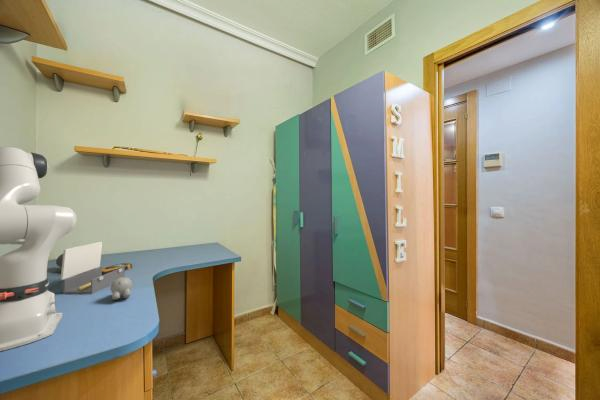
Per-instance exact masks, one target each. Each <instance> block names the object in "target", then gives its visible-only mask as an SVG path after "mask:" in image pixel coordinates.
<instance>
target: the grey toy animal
mask: <svg viewBox="0 0 600 400" xmlns="http://www.w3.org/2000/svg"><path fill="white" fill-rule="evenodd" d="M132 288H133V281H132V280H131V278H129V277H126V276H124V277H121V278H118V279H116V280H115V281H114V282H113V283H112V284H111V285H110V292H111V293H112V296H111V300H112V301H118V300H120V299H127V298H129V297H130V296H131V295H132V293H131V289H132Z"/></svg>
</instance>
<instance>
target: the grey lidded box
mask: <svg viewBox="0 0 600 400" xmlns="http://www.w3.org/2000/svg"><path fill="white" fill-rule="evenodd" d="M102 268H103V267H102V266H100V267H98V268H96V269H94V270H91V271H86V272H83V273H80V274H77V275H74V276H72V277H69V278H66V279H63V280H62V286H63V289H62V290H63V291H62V293H63V295H86V294H88V295H93V294H94V293H98V292H99V291H101V290H103V289H105V288H107V287H111V284H112V283H113V282H114V281H115V280H116V279H118V278H121V277H126V276H125V271H126V270H125V267H122V268H120V269H117V270H115V271H112V272H110V273H107V274H105V275H102Z"/></svg>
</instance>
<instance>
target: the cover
mask: <svg viewBox="0 0 600 400" xmlns="http://www.w3.org/2000/svg"><path fill="white" fill-rule="evenodd" d="M102 250H103V241H98V242H92V243H88V244H84V245H83V244H82V245H78V246H73V247H69V248H66V249H63V253H62V254H63V261H62V267H61V270H60V271H61V272H60V281H61V280H62V281H63V280H65V279H68V278H71V277H74V276H77V275H79V274H82V273H85V272H88V271H89V270H92V269H95V268H96V269H97V268H99V267H101V262H102V261H101V260H102V252H103V251H102Z"/></svg>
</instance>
